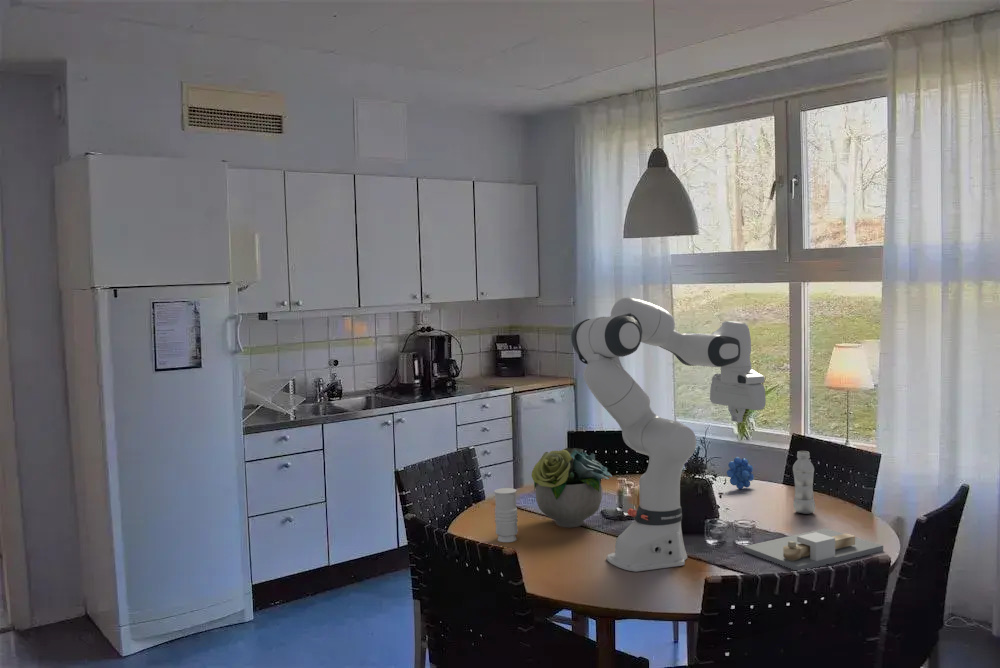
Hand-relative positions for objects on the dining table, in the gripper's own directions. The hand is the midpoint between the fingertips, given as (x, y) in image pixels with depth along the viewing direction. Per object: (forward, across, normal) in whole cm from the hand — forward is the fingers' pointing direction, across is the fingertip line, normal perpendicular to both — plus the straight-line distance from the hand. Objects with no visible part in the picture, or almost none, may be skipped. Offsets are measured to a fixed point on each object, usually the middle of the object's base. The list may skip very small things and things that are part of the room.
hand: (737, 421), depth 252 cm
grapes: (+34, -40, +38) cm, 65 cm away
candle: (+34, -34, -61) cm, 78 cm away
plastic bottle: (+34, -6, +33) cm, 48 cm away
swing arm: (+32, +28, +3) cm, 43 cm away
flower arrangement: (+34, -37, -37) cm, 63 cm away
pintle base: (+34, +23, +6) cm, 41 cm away
